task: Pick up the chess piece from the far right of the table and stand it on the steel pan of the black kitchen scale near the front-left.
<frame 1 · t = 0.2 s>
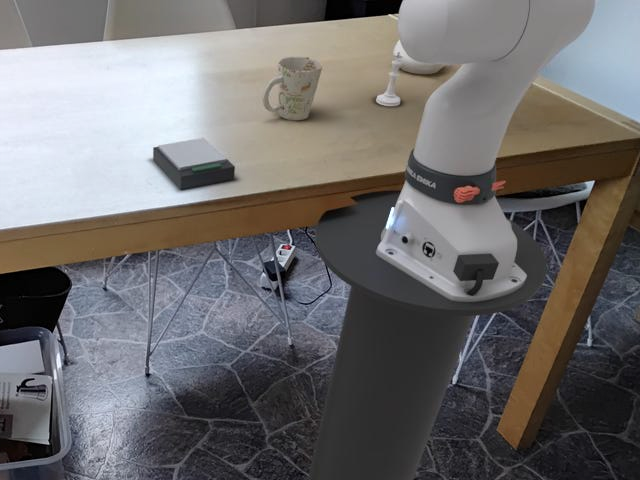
mug: (285, 117, 145), on the table
teapot: (418, 69, 167), on the table
chess piece: (387, 102, 151), on the table
scale: (192, 169, 127), on the table
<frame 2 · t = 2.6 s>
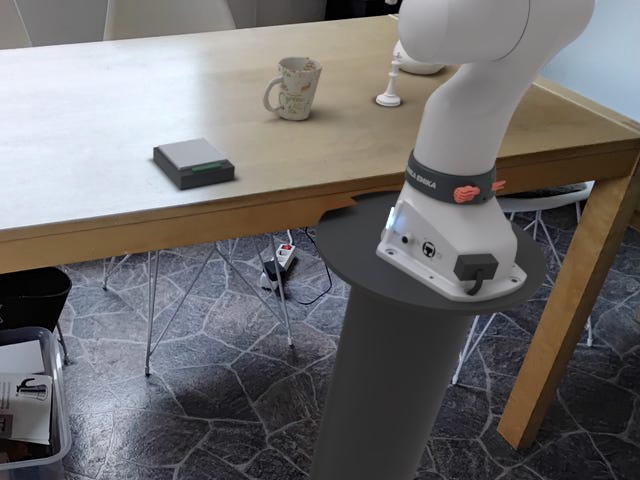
hand: (405, 10, 139), 18 cm above the table, tool pointing down, fingers open, 8 cm apart
nothing on the table moved.
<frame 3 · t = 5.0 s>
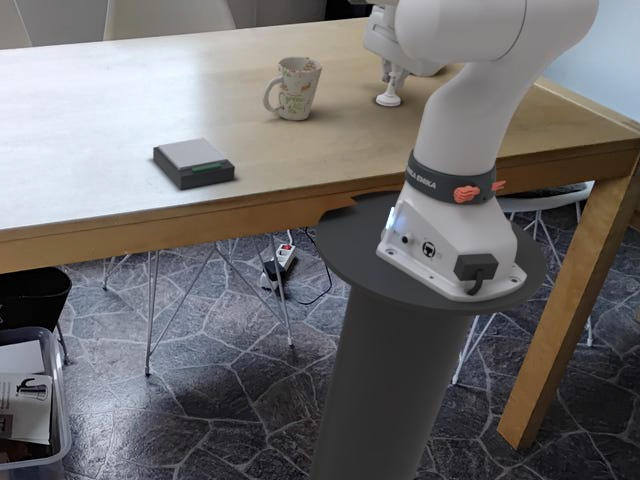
hand: (391, 84, 149), 4 cm above the table, tool pointing down, fingers closed on chess piece
chess piece: (387, 102, 151), on the table, touching gripper
everything else where it was.
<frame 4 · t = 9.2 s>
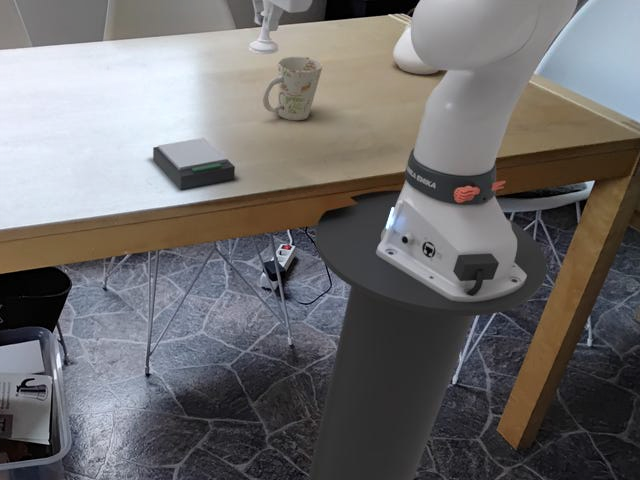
hand: (265, 27, 120), 21 cm above the table, tool pointing down, fingers closed on chess piece
chess piece: (263, 50, 122), point 17 cm above the table, touching gripper
everything else where it was.
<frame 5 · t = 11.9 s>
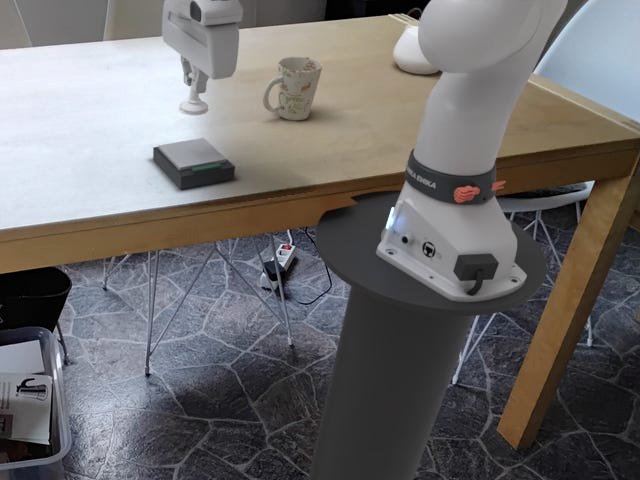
hand: (194, 88, 118), 14 cm above the table, tool pointing down, fingers closed on chess piece
chess piece: (193, 110, 120), point 10 cm above the table, touching gripper
everything else where it was.
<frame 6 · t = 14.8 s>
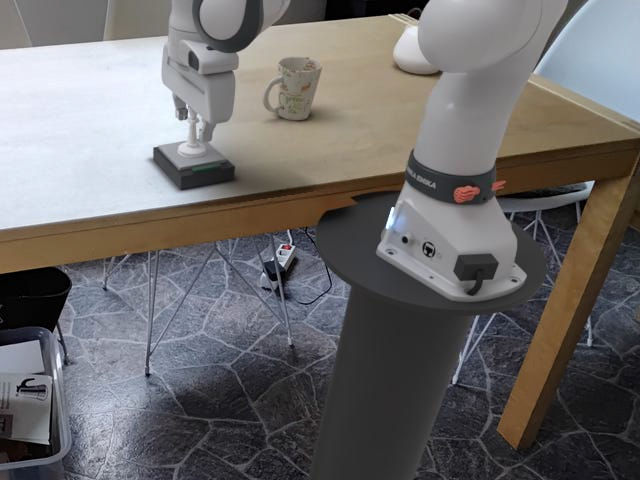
hand: (193, 129, 122), 7 cm above the table, tool pointing down, fingers open, 8 cm apart
chess piece: (191, 152, 125), point 3 cm above the table, touching scale
everything else where it was.
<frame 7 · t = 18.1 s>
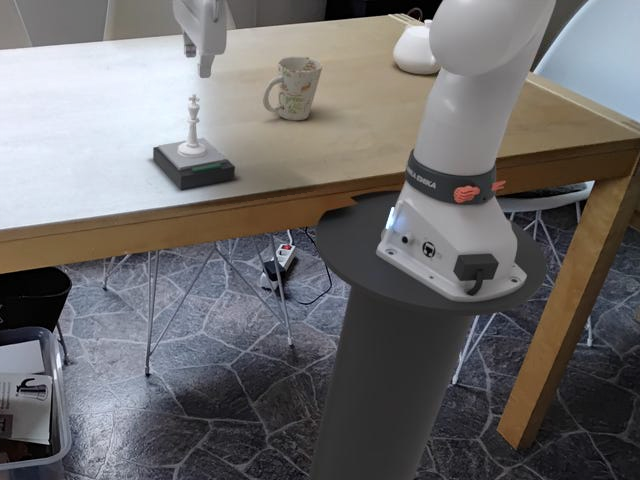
hand: (196, 66, 116), 17 cm above the table, tool pointing down, fingers open, 8 cm apart
nothing on the table moved.
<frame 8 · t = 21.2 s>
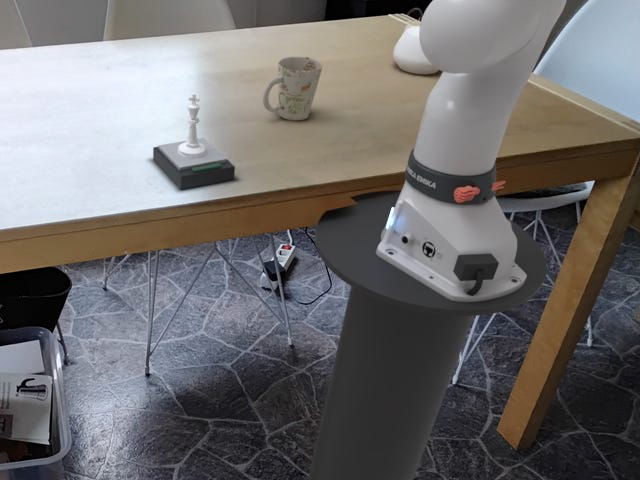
nothing on the table moved.
at the end: chess piece inside the target area on the scale (0.1 cm from its centre), point 2.8 cm above the scale's base; chess piece tilted 0° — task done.
